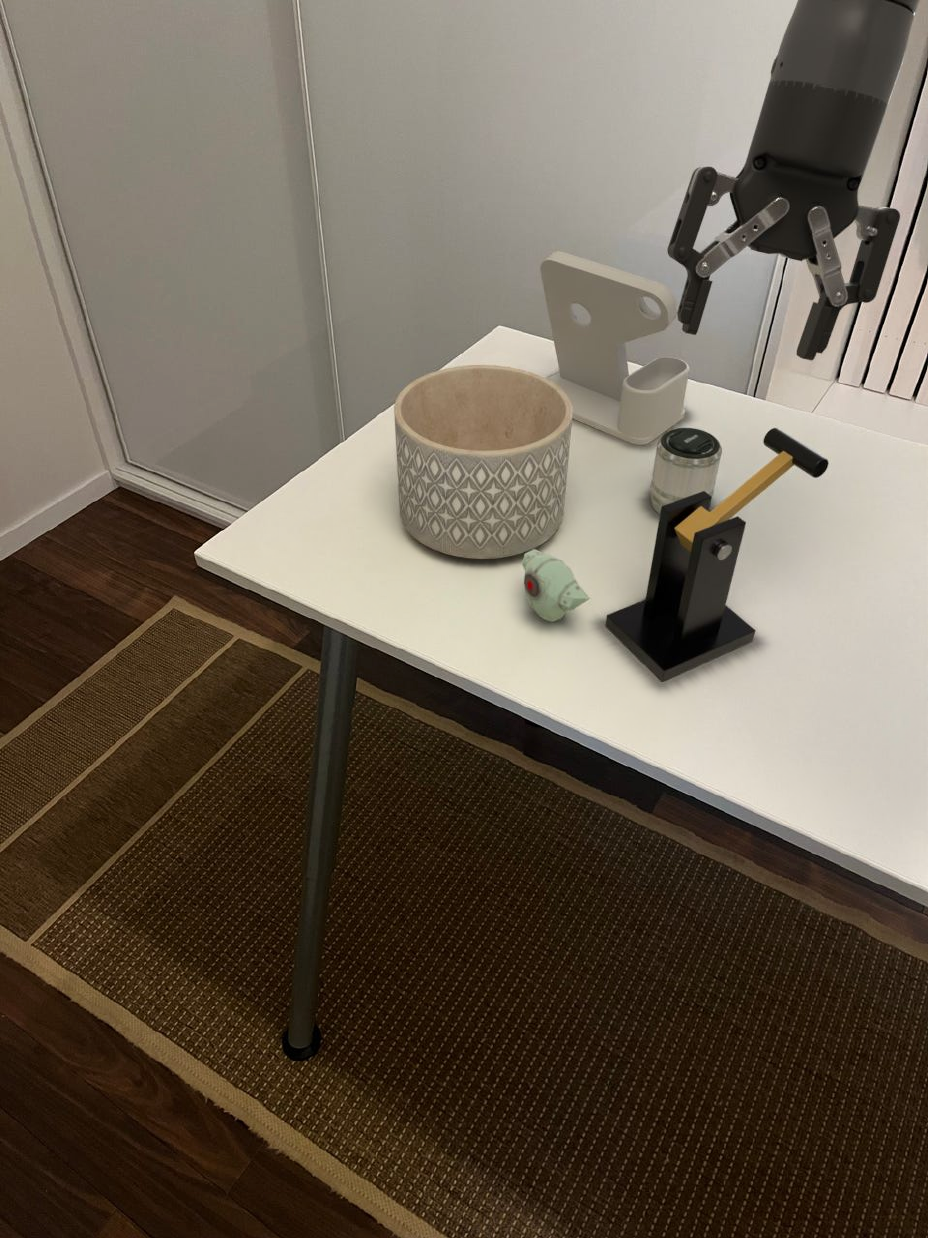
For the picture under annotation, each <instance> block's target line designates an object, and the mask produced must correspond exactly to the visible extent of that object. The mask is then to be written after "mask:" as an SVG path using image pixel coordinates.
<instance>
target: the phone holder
mask: <svg viewBox="0 0 928 1238" xmlns="http://www.w3.org/2000/svg"><path fill="white" fill-rule="evenodd" d="M539 271H540V277H541V282H542V286H543V287H542V288H543V291H544V298H545V302H546V303H545V304H546V307H547V313H548V318H549V323H550V329H551V334H552V339H553V344H554V349H555V355H556V359H557V365H558V370H559V371H557V372H556V373H554V374H553V375H551V376H549V377H547V378H546V379H548V380H550V381H551V382H553V383H554V384H556V385H557V386H558V387H560V388H561V389H562V390H563V391H564V392H565V393H566V395H567V396H568V398H569V399H570V401H571V405H572V414H573V415H572V420H576V421H577V422H580V423H582V424H584V425H587V426H589V427H592V428H594V429H597V430H598V431H601V432H604V433H606V434H608V435H611V436H613V437H616V438H617V439H620V440H623V441H625V442H627V443H630V444H632V445H636V446H644V445H648V444H650V443H651V442H653V441H654V440H655V439H657V438H658V437H659V436H662V434H665V433H666V432H667V431H669V429H671V428H672V427H673V426H675V425H676V424H677V423H679V422H680V421H682V420H683V419H684V418H685V416H686V407H685V406H684V404H685V399H686V398H685V397H686V393H687V386H688V382H689V381H688V380H689V375H690V365H689V364H688V363H687V362H686V361H685V360H682V359H680V358H678V357H674V356H673V357H672V356H661V357H657V358H654V359H653V360H651V361H649V362H648V363H646V364H644V365H643V366H641V367H639V369H636V370H635V371H634V372H632V373H629V364H628V358H627V357H628V356H627V355H628V354H627V346H626V343H629V342H631V341H635V340H637V339H641V338H644V337H648V336H650V335H653V334H657V333H660V332H663V331H665V330H666V329H667V328H668V327H669V326H670V325H671V324H672V323H673V321H675V319H677V317H678V315H677V312H678V305H677V300H676V299H677V298H676V297H675V295H674V293H673V292H672V291H671V289H669V288H668V287H667V286H666V285H665V284H663V283H661V282H659V281H656V280H652V279H649V278H646V277H643V276H639V275H637V274H634V273H631V272H628V271H624V270H622V269H618V268H615V267H612V266H608V265H606V264H603V263H599V262H596V261H593V260H589V259H587V258H583V257H581V256H577V255H573V254H570V253H568V252H564V251H561V250H555V251H552V252H551V253H550V254H549V255H548V256H547V257H546V258H545V259H544V260H543V261H542V262H541V264H540V266H539ZM644 297H645V298H649V299H651V300H652V301H654V302H655V303H656V304H657V306H658V307H659V311H660V312H657V311H656V310H654V309H652V307H650V306H649V305H648V304H647V303H646V301H645V299H644ZM573 304H577V305H579V306H581V307H583V308H584V309H585V310H586V311H587V313H588V315H589V317H590V322H589V323H583V322H581V321H579V320H578V317H577V315H576V313H575V312H574V309H573Z"/></svg>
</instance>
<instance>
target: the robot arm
mask: <svg viewBox="0 0 928 1238" xmlns="http://www.w3.org/2000/svg"><path fill="white" fill-rule="evenodd" d="M920 1H921V0H797V2H796V4H795V7H794V9H793V12H792V15H791V17H790V19H789V21H788V24H787V26H786V29H785V31H784V34H783V36H782V40H781V42H780V44H779V45H780V46H779V48H778V51H777V54H776V56H775V58H774V59H773V60H774V61H773V62H772V66H771V69H770V78H769V83H768V84H767V85H768V86H767V88H766V93H765V95H764V99H763V102H762V105H761V109H760V113H759V116H758V120H757V123H756V126H755V129H754V132H753V135H752V139H751V142H750V145H749V149H748V153H747V157H746V160H745V163H744V165H743V167H742V169H741V170H740V172H739V173H738V174H737V175H736V177H735V176H732V175H728V174H725V173H722V172H718V171H717V170H716V168H715V167H712V166H699V167H696V168H695V169H694V170H693V171H692V174H691V177H690V179H689V183H688V186H687V190H686V192H685V195H684V198H683V202H682V204H681V207H680V210H679V213H678V216H677V219H676V222H675V225H674V228H673V231H672V234H671V236H670V241H669V243H668V246H667V249H666V251H667V255H668V256H669V258H671V259H672V260H674V261H675V262H677V263H678V264H679V265H681V266H682V267H684V268H685V270H686V275H687V276H686V281H685V284H684V287H683V291H682V294H681V299H680V302H679V305H678V307H677V321H678V322H679V323H681V324H682V328H681V330H682V332H683V333H685V334H689V335H692V336H696V335H697V333H698V332H699V329H700V326H701V322H702V318H703V315H704V313H705V312H704V311H705V308H706V305H707V301H708V298H709V295H710V291H711V288H712V285H713V280H711V279H710V277H711V275H712V274H713V273H715V272H716V271H717V270H718V269H719V268H721V267H722V266H723V265H724V264H725V263H727V262H728V261H729V260H730V259H732V258H733V257H735V256H737V255H738V254H739V253H741V252H742V251H743V250H744V249H746V247H748V248H749V249H750V250H751V251H754V252H757V253H763V254H767V255H776V254H777V255H779V256H780V257H784V258H786V259H789V260H794V261H799V262H803V261H805V262H806V265H807V269H808V271H809V272H810V274H811V276H812V278H813V280H814V285H815V287H816V291H817V294H818V300H817V301H813V302H812V304H811V307H810V310H809V313H808V316H807V319H806V322H805V325H804V328H803V331H802V334H801V336H800V339H799V343H798V345H797V347H796V356H797V357H799V358H801V359H802V360H807V361H812V362H813V361H814V359H815V358H816V355H817V354H823V353H824V351H826V349H827V348H828V345H829V343H830V339H831V337H832V334H833V331H834V328H835V326H836V323H837V320H838V317H839V314H840V312H841V310H842V309H844V307H845V306H847V305H851V304H859V303H863V304H864V303H865V304H868V303H871V302H873V300H874V299H876V297H877V294H878V290H879V288H880V284H881V281H882V279H883V274H884V272H885V268H886V264H887V262H888V258H889V255H890V252H891V249H892V246H893V242H894V240H895V236H896V232H897V230H898V225H899V224H900V220H901V213H900V211H899V210H898V209H897V208H892V207H887V206H877V207H872V206H866V205H865V206H864V205H859V204H860V203H859V198H858V197H859V196H858V195H859V188H860V185H861V184H862V180H863V179H864V176H865V173H866V169H867V167H868V164H869V161H870V159H871V155H872V152H873V149H874V148H875V147H874V146H875V144H876V141H877V138H878V136H879V132H880V129H881V127H882V124H883V120H884V118H885V115H886V112H887V110H888V106H889V104H890V101H891V97H892V95H893V92H894V88H895V87H896V83H897V81H898V78H899V76H900V75H899V74H900V72H901V69H902V66H903V62H904V61H905V60H904V59H905V57H906V56H905V55H906V52H907V47H908V43H909V38H910V35H911V29H912V25H913V23H914V19H915V15H916V12H917V10H918V6H919V3H920ZM728 193H729V199H730V202H731V205H732V208H733V211H734V215H735V218H736V219H734V221H732V222H731V223H730V224H729V225H727V226H726V227H725V229H723V230H722V231H721V232H719V234H717V235H716V236H715V237H714V238H713V240H712V241H711V242H710V243H709V244H708V245H707V246H705V247H704V248H703V249H702V250H700V252H699V251H698V250H696V249H695V248H694V246H695V244H696V242H697V241H696V240H697V238H698V235H699V232H700V229H701V226H702V223H703V220H704V217H705V214H706V211H707V209H708V207H714V206H716V205H718V204H719V202H720V200H721V199H722V197H723V196H724V195H726V194H728ZM853 223H855V225H856V229H855V230H856V231H855V235H856V237H857V239H858V240H860V244H859V247H858V250H857V253H856V257H855V260H854V264H853V267H852V270H851V274H850V277H849V281H848V282H845V280H844V276H843V272H842V263H841V262H842V261H841V259H840V256H839V253H838V249H837V246H836V242H835V238H837V237H838V236H839V235H840V234H841V233H842V232H844V231H845V230H846V229H847V228H848V227H850V226H851V225H852V224H853Z"/></svg>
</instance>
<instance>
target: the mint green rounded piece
mask: <svg viewBox="0 0 928 1238" xmlns="http://www.w3.org/2000/svg"><path fill="white" fill-rule="evenodd" d="M521 565H522V568H523V570H524V576H523V577H524V578H523V586H524V592H525V596H526V599H527V601H528V603H529V606H530V607H531V609H533V611H534V612H535V613H536V614H537V615H538V616H539V617H540V618H542V619H543V620H545V621H548V622H555V621H558V620H560V619H562V618H563V617H564V616H565V614H566V613H567V612H570V611H574V610H575V609H577V608H578V607H580V606H581V605H583V604H584V603H586V602H588V601H589V600H590V599H591V596H589V595H588V594H587V592H585V590H584V589H583V588H582V587H581V585H580V584H579V582H578V581H577V579H576V577H575V574H573V571H572V569H571V567H569V566H568V565H567V563H565V561H563V560H562V559H560V558H558V557H555V556H553V555H551V554H547V553H544V552H542V551H540V550H537V549H536V548H533V549H531V550H529V551H526V552H524V555H523V559H522V562H521Z"/></svg>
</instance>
